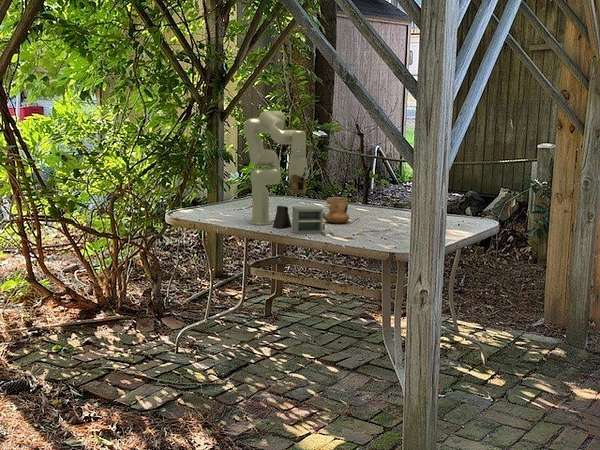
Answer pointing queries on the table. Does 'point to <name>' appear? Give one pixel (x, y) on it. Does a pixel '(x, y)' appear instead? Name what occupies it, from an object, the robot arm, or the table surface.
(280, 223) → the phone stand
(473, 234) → the table surface
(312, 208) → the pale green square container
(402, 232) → the table surface
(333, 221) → the ceramic jug
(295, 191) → the tan rectangular block
